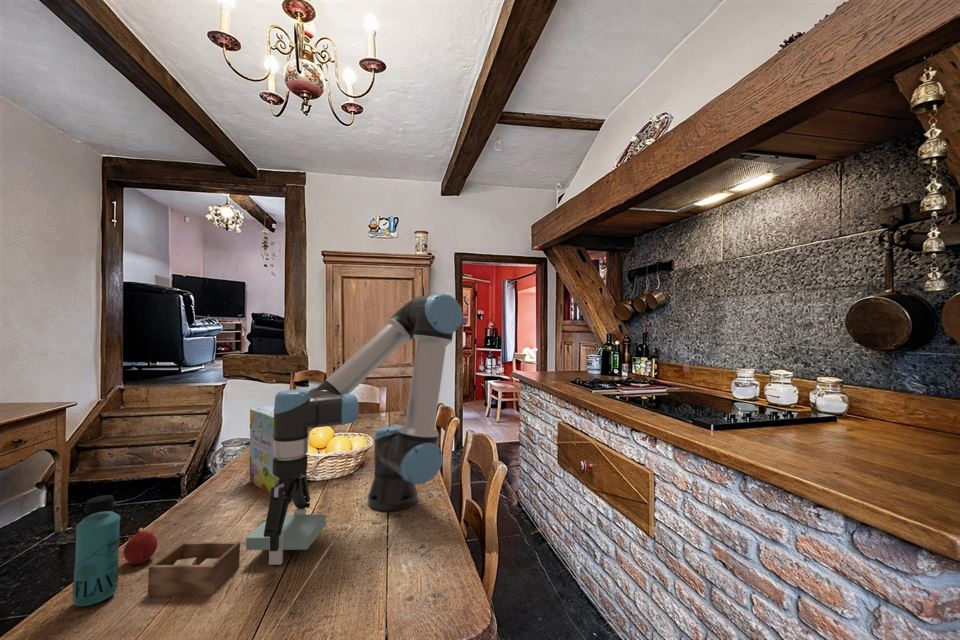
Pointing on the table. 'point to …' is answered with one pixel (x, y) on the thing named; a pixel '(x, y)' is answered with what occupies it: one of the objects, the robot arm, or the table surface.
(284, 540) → the lid
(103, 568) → the beverage bottle
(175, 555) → the box
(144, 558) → the onion
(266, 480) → the snack box
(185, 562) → the block
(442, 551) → the table surface
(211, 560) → the block
